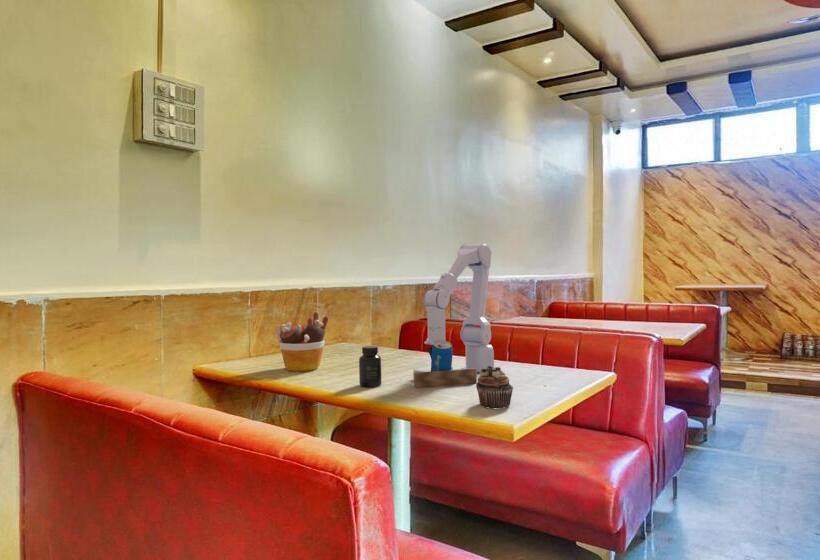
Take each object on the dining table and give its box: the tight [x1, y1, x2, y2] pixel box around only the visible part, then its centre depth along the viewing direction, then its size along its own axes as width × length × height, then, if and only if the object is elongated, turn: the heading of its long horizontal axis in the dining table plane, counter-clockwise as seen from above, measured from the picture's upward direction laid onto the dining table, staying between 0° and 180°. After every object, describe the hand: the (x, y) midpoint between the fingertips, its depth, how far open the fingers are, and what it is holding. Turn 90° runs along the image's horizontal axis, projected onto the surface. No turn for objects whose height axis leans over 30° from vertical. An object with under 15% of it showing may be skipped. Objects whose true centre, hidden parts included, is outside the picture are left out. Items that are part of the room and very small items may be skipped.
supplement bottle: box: [358, 345, 382, 389], centre depth 169 cm, size 7×7×12 cm
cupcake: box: [475, 366, 514, 409], centre depth 144 cm, size 10×10×10 cm
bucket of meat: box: [274, 312, 329, 373], centre depth 198 cm, size 20×16×20 cm
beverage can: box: [430, 340, 454, 371], centre depth 171 cm, size 6×6×12 cm
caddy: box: [412, 366, 478, 389], centre depth 174 cm, size 20×13×4 cm, turn 107°
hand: (437, 369), depth 176 cm, fingers closed
